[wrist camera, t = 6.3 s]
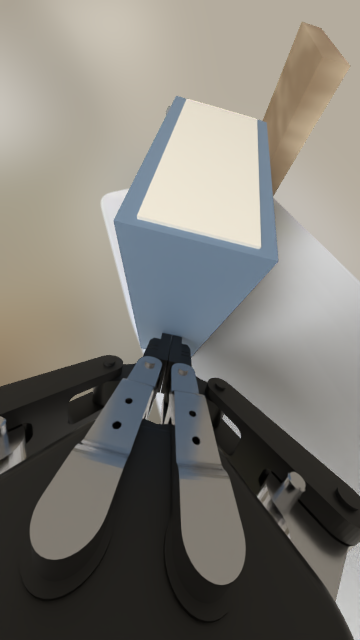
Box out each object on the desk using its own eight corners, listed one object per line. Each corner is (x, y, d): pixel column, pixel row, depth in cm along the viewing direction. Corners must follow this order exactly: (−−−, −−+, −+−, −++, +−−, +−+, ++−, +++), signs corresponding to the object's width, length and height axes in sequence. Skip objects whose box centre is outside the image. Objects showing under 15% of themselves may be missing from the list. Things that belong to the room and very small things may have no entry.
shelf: (232, 222, 28) (320, 28, 13) (226, 284, 23) (360, 78, 8) (163, 203, 27) (176, -21, 13) (141, 263, 22) (120, 1, 8)
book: (201, 279, 22) (267, 119, 10) (189, 358, 18) (280, 259, 5) (162, 270, 22) (176, 93, 9) (141, 348, 18) (112, 217, 5)
